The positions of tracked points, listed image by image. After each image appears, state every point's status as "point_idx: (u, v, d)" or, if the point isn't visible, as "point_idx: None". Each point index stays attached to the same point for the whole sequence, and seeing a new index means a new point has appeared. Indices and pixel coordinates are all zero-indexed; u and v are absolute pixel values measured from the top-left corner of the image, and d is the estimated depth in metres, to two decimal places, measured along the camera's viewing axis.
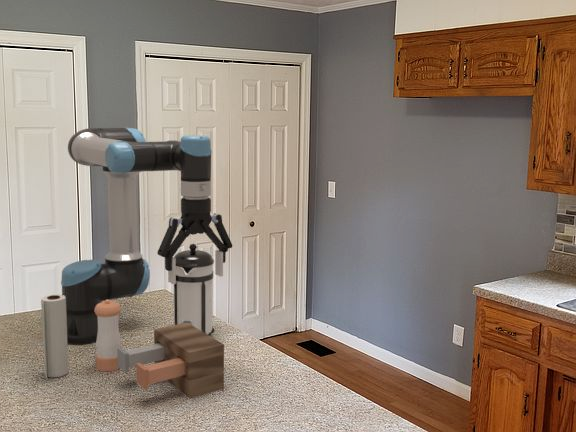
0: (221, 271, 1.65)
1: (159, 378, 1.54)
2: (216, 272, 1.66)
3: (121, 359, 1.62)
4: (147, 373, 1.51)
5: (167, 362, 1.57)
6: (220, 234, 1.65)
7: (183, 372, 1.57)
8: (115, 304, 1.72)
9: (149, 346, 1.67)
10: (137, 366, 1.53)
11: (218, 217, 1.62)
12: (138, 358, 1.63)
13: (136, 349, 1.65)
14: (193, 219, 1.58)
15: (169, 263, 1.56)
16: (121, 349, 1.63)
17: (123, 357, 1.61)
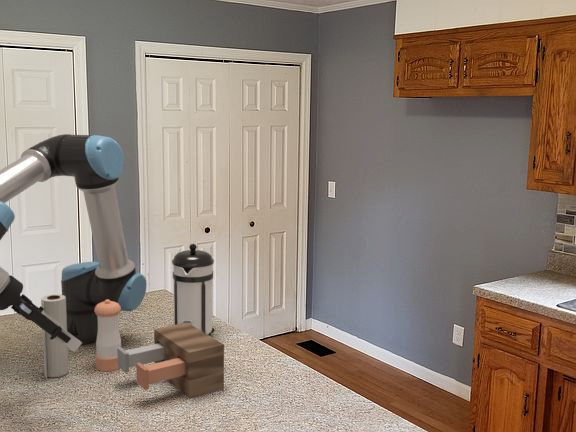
0: None
1: (159, 378, 1.54)
2: None
3: (121, 359, 1.62)
4: (147, 373, 1.51)
5: (167, 362, 1.57)
6: None
7: (183, 372, 1.57)
8: (115, 304, 1.72)
9: (149, 346, 1.67)
10: (137, 366, 1.53)
11: None
12: (138, 358, 1.63)
13: (136, 349, 1.65)
14: None
15: None
16: (121, 349, 1.63)
17: (123, 357, 1.61)
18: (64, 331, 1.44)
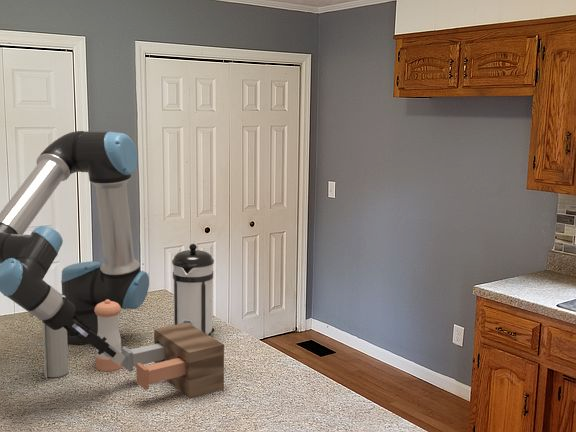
0: (114, 361, 1.60)
1: (159, 378, 1.54)
2: None
3: (125, 358, 1.62)
4: (147, 373, 1.51)
5: (167, 362, 1.57)
6: None
7: (183, 372, 1.57)
8: (115, 304, 1.72)
9: (153, 345, 1.68)
10: (137, 366, 1.53)
11: None
12: (142, 357, 1.63)
13: (140, 348, 1.65)
14: None
15: None
16: (125, 348, 1.63)
17: (127, 356, 1.61)
18: (110, 346, 1.58)
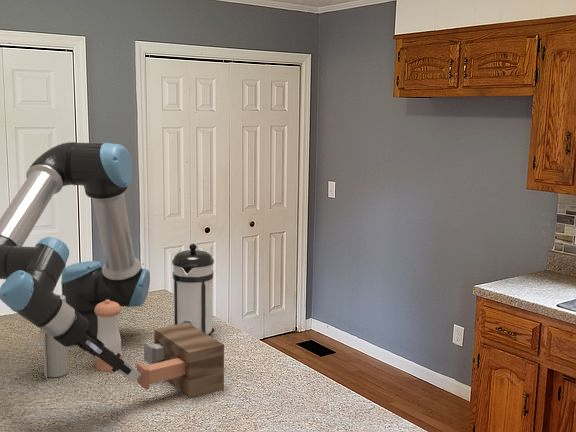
0: (129, 379, 1.50)
1: (159, 378, 1.54)
2: None
3: (148, 353, 1.66)
4: (148, 373, 1.51)
5: (167, 362, 1.57)
6: None
7: (183, 372, 1.58)
8: (115, 304, 1.72)
9: None
10: (138, 366, 1.54)
11: None
12: (164, 352, 1.67)
13: None
14: None
15: None
16: (148, 343, 1.67)
17: (150, 351, 1.65)
18: (125, 363, 1.48)
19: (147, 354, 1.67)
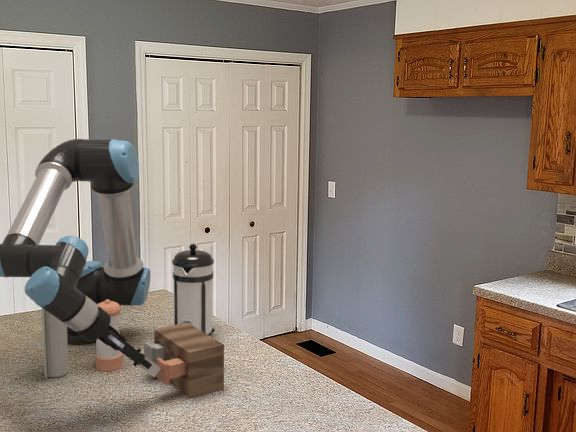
0: (149, 373, 1.53)
1: (179, 373, 1.57)
2: None
3: (148, 353, 1.66)
4: (168, 368, 1.54)
5: None
6: None
7: None
8: (115, 304, 1.72)
9: None
10: (157, 361, 1.57)
11: None
12: (164, 352, 1.67)
13: None
14: None
15: None
16: (148, 343, 1.67)
17: (150, 351, 1.65)
18: (145, 358, 1.52)
19: (147, 354, 1.67)
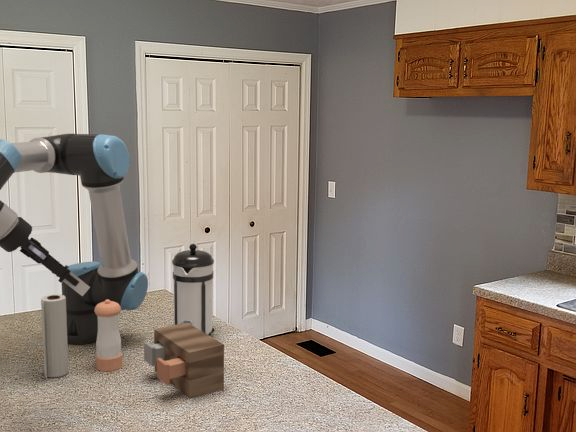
0: (77, 292, 1.48)
1: (179, 373, 1.57)
2: None
3: (148, 353, 1.66)
4: (168, 368, 1.54)
5: None
6: None
7: None
8: (115, 304, 1.72)
9: None
10: (158, 361, 1.57)
11: None
12: (164, 352, 1.67)
13: None
14: None
15: None
16: (148, 343, 1.67)
17: (150, 351, 1.65)
18: (72, 275, 1.46)
19: (147, 354, 1.67)
